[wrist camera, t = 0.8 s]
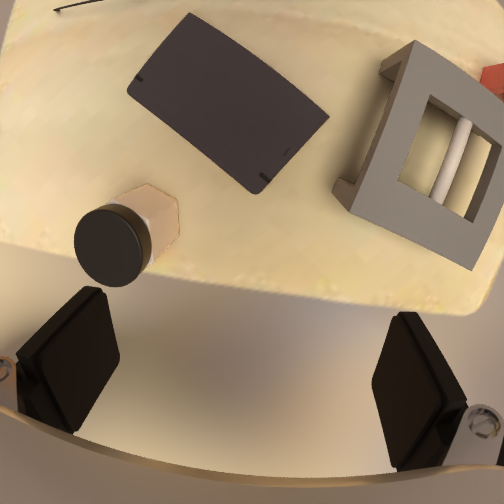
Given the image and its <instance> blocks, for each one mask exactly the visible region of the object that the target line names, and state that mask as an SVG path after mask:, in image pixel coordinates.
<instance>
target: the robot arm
mask: <svg viewBox="0 0 504 504" xmlns="http://www.w3.org/2000/svg"><path fill="white" fill-rule="evenodd" d="M16 356H17V358H18V360H19V361H18V362H17V363H16V364H15V362H14V361H13V359H11V358H9V357H5V356H0V504H504V421H503V418H502V417H501V415H500V414H499V413H498V412H497V411H496V410H495V409H493V408H491V407H490V406H486V405H483V404H476V405H473V406H470V407H468V405H467V403H466V400H467V398H466V396H465V394H464V392H463V390H462V388H461V387H460V385H459V383H458V381H457V379H456V377H455V376H454V374H453V372H452V370H451V368H450V367H449V365H448V363H447V361H446V360H445V358H444V356H443V354H442V353H441V351H440V350H439V348H438V346H437V344H436V342H435V341H434V339H433V338H432V336H431V334H430V333H429V331H428V329H427V328H426V326H425V324H424V323H423V321H422V320H421V318H420V317H419V315H418V313H417V312H399V313H398V314H397V316H393V318H392V320H391V323H390V326H389V330H388V333H387V336H386V339H385V342H384V345H383V348H382V352H381V355H380V357H379V360H378V363H377V366H376V369H375V372H374V374H373V377H372V390H373V394H374V398H375V401H376V405H377V409H378V413H379V417H380V421H381V424H382V428H383V433H384V437H385V441H386V445H387V449H388V453H389V457H390V462H391V466H392V467H393V468H395V467H396V469H397V472H395V473H387V474H378V475H365V476H353V477H352V476H351V477H332V478H286V477H266V476H253V475H242V474H233V473H224V472H216V471H210V470H203V469H197V468H191V467H186V466H181V465H176V464H171V463H166V462H162V461H157V460H153V459H148V458H145V457H141V456H137V455H133V454H130V453H126V452H122V451H119V450H116V449H112V448H109V447H106V446H103V445H100V444H97V443H94V442H91V441H88V440H85V439H82V438H80V437H77V436H74V435H73V433H74V431H78V430H79V429H80V427H81V426H82V423H83V422H84V420H85V419H86V417H87V415H88V414H89V412H90V410H91V409H92V407H93V405H94V403H95V402H96V400H97V398H98V397H99V395H100V393H101V392H102V390H103V388H104V386H105V385H106V384H107V382H108V380H109V379H110V377H111V375H112V374H113V372H114V370H115V369H116V367H117V366H118V364H119V361H120V354H119V350H118V346H117V342H116V337H115V333H114V329H113V324H112V319H111V315H110V310H109V305H108V300H107V296H106V294H105V293H103V291H102V289H101V288H98V287H91V286H84V287H83V288H82V289H81V290H80V291H79V292H77V293H76V294H75V295H74V296H73V297H72V298H71V299H70V300H69V301H68V302H67V303H66V304H65V305H64V306H63V307H61V308H60V309H59V310H58V311H57V312H56V313H55V314H54V315H53V316H52V317H51V318H50V319H49V320H48V321H47V322H46V323H45V324H44V325H43V326H42V327H41V328H40V329H39V330H38V331H37V332H36V333H35V334H34V335H33V336H32V337H31V338H30V339H29V340H28V341H27V342H26V343H25V344H24V345H23V346H22V347H21V348H20V349H19V350H18V351H17V353H16Z"/></svg>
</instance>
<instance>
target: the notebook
mask: <svg viewBox="0 0 504 504" xmlns="http://www.w3.org/2000/svg"><path fill="white" fill-rule="evenodd" d="M127 93H128V94H129V95H130V96H131V97H132V98H133V99H135V100H136V101H137V102H139V103H140V104H141V105H143V106H144V107H145V108H147V109H148V110H149V111H150V112H152V113H153V114H154V115H156V116H157V117H158V118H159V119H161V120H162V121H163V122H165V123H166V124H167V125H168V126H170V127H171V128H172V129H173V130H175V131H176V132H177V133H179V134H180V135H181V136H182V137H184V138H185V139H186V140H187V141H189V142H190V143H191V144H192V145H194V146H195V147H196V148H197V149H198V150H200V151H201V152H202V153H203V154H205V155H206V156H207V157H208V158H210V159H211V160H212V161H213V162H214V163H216V164H217V165H218V166H219V167H221V168H222V169H223V170H224V171H225V172H227V173H228V174H229V175H230V176H231V177H233V178H234V179H235V180H236V181H237V182H239V183H240V184H241V185H242V186H243V187H245V188H246V189H247V190H248V191H249V192H251V193H252V194H259V193H260V192H261V191H262V190H263V189H264V188H265V187H266V186H267V185H268V184H269V183H270V182H271V181H272V179H273V178H274V177H275V176H276V175H277V174H278V173H279V171H280V170H281V169H282V168H283V167H284V166H285V165H286V164H287V163H288V162H289V160H290V159H291V158H292V157H293V156H294V155H295V154H296V153H297V152H298V151H299V149H300V148H301V147H302V146H303V145H304V144H305V143H306V142H307V141H308V140H309V139H310V138H311V136H312V135H313V134H314V133H315V132H316V131H317V130H318V129H319V128H320V127H321V126H322V125H323V124H324V123H325V121H326V120H327V119H328V118H329V117H330V116H329V115H327V114H326V113H325V112H324V111H323V110H322V109H321V108H320V107H318V106H317V105H316V104H315V103H314V102H313V101H312V100H310V99H309V98H308V97H307V96H306V95H305V94H303V93H302V92H301V91H300V90H299V89H297V88H296V87H295V86H294V85H293V84H291V83H290V82H289V81H288V80H286V79H285V78H284V77H283V76H281V75H280V74H279V73H278V72H276V71H275V70H274V69H272V68H271V67H270V66H268V65H267V64H266V63H264V62H263V61H262V60H260V59H259V58H258V57H256V56H255V55H254V54H252V53H251V52H249V51H248V50H247V49H245V48H244V47H242V46H241V45H240V44H238V43H237V42H235V41H234V40H232V39H231V38H229V37H228V36H226V35H225V34H223V33H222V32H220V31H219V30H217V29H216V28H214V27H213V26H211V25H209V24H208V23H206V22H205V21H203V20H201V19H200V18H198V17H196V16H195V15H193V14H191V13H190V12H189V13H188V14H187V15H186V16H185V17H184V19H183V20H182V21H181V22H180V23H179V24H178V25H177V26H176V27H175V28H174V30H173V31H172V32H171V33H170V34H169V35H168V36H167V38H166V39H165V40H164V41H163V42H162V43H161V45H160V46H159V47H158V48H157V50H156V51H155V52H154V53H153V54H152V56H151V57H150V58H149V59H148V61H147V62H146V63H145V65H144V66H143V67H142V68H141V70H140V71H139V72H138V74H137V75H136V76H135V77H134V79H133V81H132V82H131V83H130V85H129V86H128V88H127Z"/></svg>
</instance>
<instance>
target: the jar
mask: <svg viewBox="0 0 504 504" xmlns="http://www.w3.org/2000/svg"><path fill="white" fill-rule="evenodd" d="M178 236H179V221H178V207H177V200H176V199H174V198H172V197H170V196H168V195H167V194H165V193H163V192H161V191H159V190H158V189H156V188H154V187H152V186H150V185H149V184H145V185H143V186H140V187H138V188H136V189H133V190H131V191H129V192H126V193H124V194H122V195H120V196H117V197H115V198H113V199H111V200H110V201H109V202H107V203H106V204H105V205H103V206H101V207H99V208H97V209H95V210H93V211H91V212H89V213H87V214H86V215H85V216H83V217H82V219H81V220H80V221H79V223H78V225H77V227H76V230H75V234H74V248H75V253H76V256H77V259H78V261H79V263H80V265H81V266H82V268H83V269H84V270H85V272H86V273H87V274H88V275H89V276H90V277H91V278H92V279H94V280H95V281H96V282H98V283H100V284H102V285H105V286H109V287H122V286H125V285H128V284H129V283H131V282H132V281H134V280H135V279H136V278H137V276H138V275H139V274H140V273H141V272H142V271H143V270H144V269H145V268H146V267H148V266H149V265H151V264H153V263H154V262H155V261H156V260H157V259H158V258H159V256H160V255H161V254H162V253H163V252H164V251H165V250H166V249H167V248H168V247H169V246H170V245H171V244H172V242H173V241H174V240H175V239H176V238H177V237H178Z"/></svg>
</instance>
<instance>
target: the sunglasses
mask: <svg viewBox="0 0 504 504" xmlns="http://www.w3.org/2000/svg"><path fill="white" fill-rule="evenodd" d="M97 1H102V0H89V1H85V2H80V3H76V4H72V5H68V6H64V7H60V8H56V9H54V10H53V11H60V10H59V9H63V8H68V7H72V6H77V5H81V4H86V3H91V2H97Z"/></svg>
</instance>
